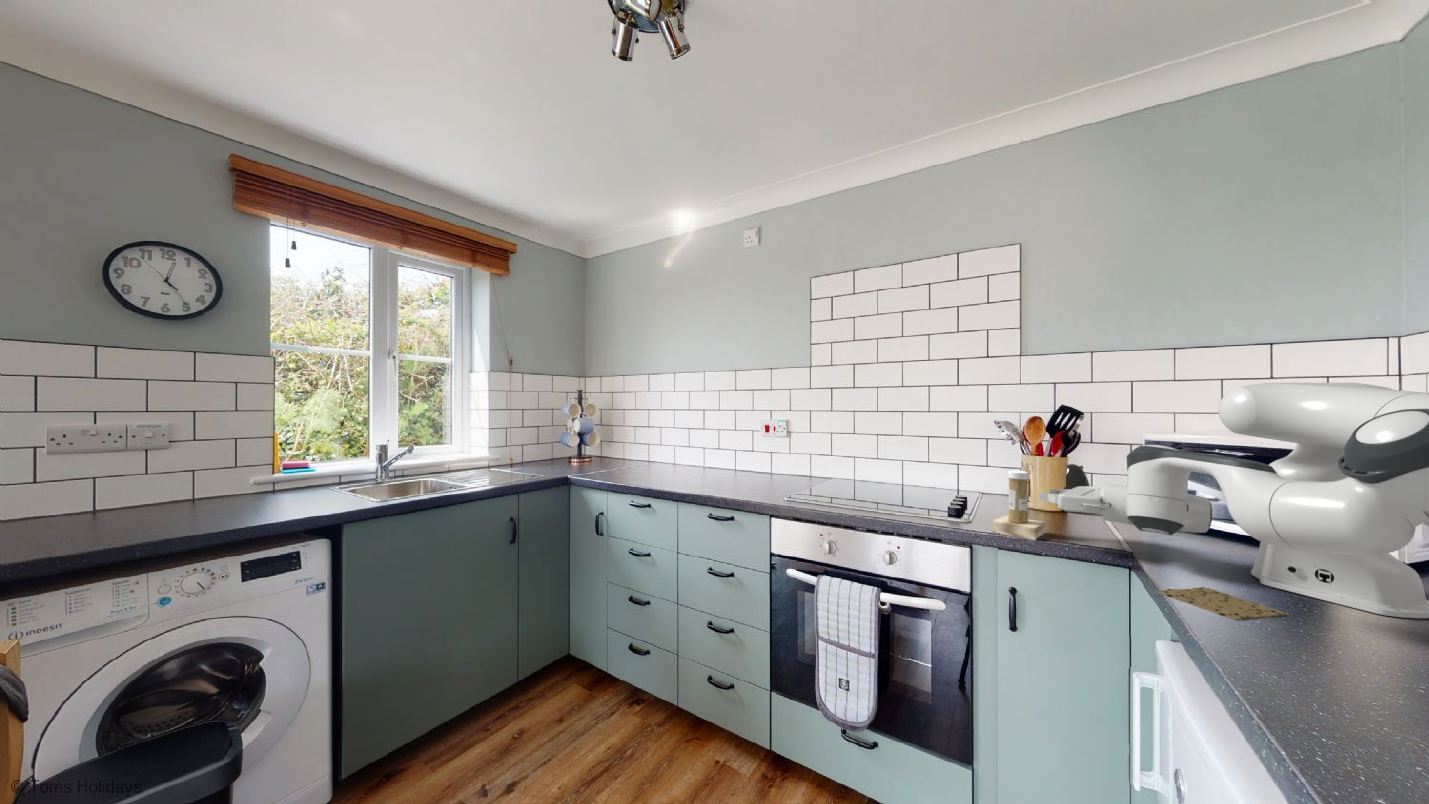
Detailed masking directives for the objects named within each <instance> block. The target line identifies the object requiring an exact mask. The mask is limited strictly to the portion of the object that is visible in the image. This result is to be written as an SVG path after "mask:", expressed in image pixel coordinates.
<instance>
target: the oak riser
mask: <svg viewBox="0 0 1429 804" xmlns="http://www.w3.org/2000/svg"><path fill="white" fill-rule="evenodd" d="M1008 518H1009V515H1005V514H1004V515H1002V516H1000V517H997V518H995V519H993V520H991V533H992V532H996V533H995V534H998V533H1000V534H999V535H1004V536H1008V537H1009V536H1010V537H1014V538H1015V537H1016V538H1020V539H1026V540H1030V541H1036V540H1038V539H1039V538H1040V537H1039V536H1041V535H1042V536H1044V535H1045V534H1046V531H1047V530H1046V529H1047V528H1046V526H1047V525H1046V521H1042V520H1041V521H1040V520H1035V519H1029V518H1027V520H1028V522H1027V523H1015V522H1011V521H1009V520H1008ZM1044 533H1045V534H1044ZM1043 534H1044V535H1043ZM1042 536H1041V537H1042ZM1038 537H1039V538H1038ZM1037 538H1038V539H1037Z"/></svg>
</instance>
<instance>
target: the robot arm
mask: <svg viewBox="0 0 1429 804" xmlns="http://www.w3.org/2000/svg"><path fill="white" fill-rule="evenodd" d="M1217 410H1218V412H1217V413H1218V416H1219V418H1220V419H1219V420H1221V421H1220V422H1222V424H1223V426H1224V428H1226V429H1228V431H1230V432H1231V433H1235V434H1238V435H1241V436H1242V435H1243V436H1249V437H1255V438H1262V439H1269V440H1274V441H1278V442H1279V441H1280V442H1285V443H1286V442H1287V443H1293V444H1296V445H1295V447H1294V449H1293V450H1292V451H1290V453H1288V455H1286V456H1285V457H1284V456H1283V457H1281V458H1279V459H1275V460H1274V461H1273V462H1271V463H1269V464H1266V463H1263V462H1261V461H1254V460H1250V459H1244V458H1238V457H1231V456H1224V455H1218V454H1213V453H1212V454H1211V453H1203V452H1197V451H1189V450H1188V451H1187V450H1181V449H1177V448H1174V447H1171V446H1166V445H1159V444H1145V445H1139V446H1137V447H1136V448H1134V449H1133V450H1131V451H1130V452H1129V453H1128V454H1126V471H1127V481H1126V485H1123V484H1113V483H1105V484H1104V486H1091V485H1090V486H1079V487H1075V488H1073V489H1071V490H1069V489H1054V488H1051V489H1050V491H1049V492H1041V493H1040V494H1039V500H1041V501H1045V502H1050V503H1053V504H1055V505H1056V504H1058V506H1057V508H1058V509H1059V510H1061V509H1062V510H1061V511H1063V510H1068V511H1076V512H1082V513H1086V514H1096V515H1100V516H1101V515H1102V518H1103V520H1104V521H1107V522H1112V523H1118V524H1119V523H1120V524H1125V525H1130V526H1131V525H1133V526H1134V527H1135V528H1136V529H1137V530H1139V531H1140V532H1141V531H1142V532H1148V533H1155V534H1156V533H1157V534H1162V535H1167V536H1173V535H1174V534H1176V533H1178V532H1181V533H1197V534H1198V533H1199V534H1200V533H1201V534H1202V533H1203V534H1205V533H1207V532H1208V531H1209V530H1210V528H1211V526H1212V522H1213V507H1212V503H1211V501H1210V500H1209V498H1207V497H1203V496H1200V495H1196V494H1191V493H1188V491H1189V490H1188V486H1189V477H1190V474H1191V473H1192V472H1193V473H1194V472H1195V473H1199V474H1204V475H1211V476H1212V477H1213V478H1214V479H1215V480H1216V482H1217V483H1218V485H1219V487H1220V489H1221V492H1222V494H1223V497H1224V500H1225V504H1226V508H1227V510H1228V512H1229V515H1230V516H1231V518H1232V519H1233V521H1234V522H1235V524H1236V525H1237V526H1238V527H1239V528H1240V529H1241V530H1242V531H1243V532H1245V533H1246V534H1247V535H1248V536H1250V537H1252V538H1254V539H1255V540H1257V541H1259V542H1260V544H1259V548H1258V552H1257V556H1256V559H1255V561H1254V564H1253V567H1252V569H1251V570H1250V574H1251V575H1252V577H1253V576H1254V577H1255V578H1257V579H1258V580H1259V583H1260V584H1262V585H1265V586H1268V587H1272V588H1276V589H1280V590H1282V591H1283V590H1284V591H1287V592H1291V593H1296V594H1298V595H1303V596H1306V597H1311V598H1315V599H1319V600H1323V601H1325V602H1326V601H1327V602H1330V603H1334V604H1337V605H1341V606H1347V607H1350V608H1354V609H1357V610H1361V611H1365V612H1370V613H1374V614H1378V615H1382V616H1389V617H1396V618H1404V619H1405V618H1407V619H1429V600H1428V599H1426V593H1425V589H1424V585H1423V584H1424V583H1423V582H1422V579H1421V577H1420V574H1419V573H1418V572H1417V571H1416V570H1415V569H1414V568H1412V567H1411V566H1409V565H1407V564H1406V563H1405V562H1403V561H1402V560H1401V559H1398V558H1397V557H1395V556H1394V555H1392V554H1391V553H1393V552H1397V551H1400V550H1402V549H1403V548H1405V547H1406V546H1407V545H1409V544H1410V542H1411V541H1412V540H1413V539H1414V536H1415V534H1416V527H1419V526H1420V525H1422V524H1423V525H1425V526H1426V527H1428V528H1429V392H1424V391H1423V392H1422V391H1421V392H1420V391H1411V390H1410V391H1409V390H1402V389H1401V390H1399V389H1393V388H1390V387H1388V386H1380V385H1374V384H1368V383H1361V382H1264V383H1255V384H1247V385H1242V386H1237V387H1233V388H1231V389H1230V390H1228V391H1227V392H1226V393H1225V394H1224V395H1223V397H1222V398H1221V399H1220V401H1219V404H1218V408H1217Z"/></svg>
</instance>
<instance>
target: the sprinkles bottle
mask: <svg viewBox="0 0 1429 804" xmlns="http://www.w3.org/2000/svg"><path fill="white" fill-rule="evenodd" d="M1007 473H1008V475H1007V476H1008V477H1007V478H1008V516H1009V518H1008V520H1009V521H1011V522H1015V523H1027V522H1028V520H1027V519H1028V510H1029V508H1028V507H1029V505H1028V504H1029V503H1028V502H1029V500H1028V496H1029V495H1028V494H1029V493H1028V492H1029V491H1028V481H1029V471H1024V470H1008V472H1007Z"/></svg>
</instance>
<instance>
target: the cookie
mask: <svg viewBox="0 0 1429 804" xmlns="http://www.w3.org/2000/svg"><path fill="white" fill-rule="evenodd" d="M1157 593H1158V594H1160V595H1164V596H1165V597H1168V598H1172V599H1174V600H1177V601H1179V602H1183V603H1186V604H1188V605H1191V606H1194V607H1197V608H1199V609H1202V610H1205V611H1208V612H1211V613H1213V614H1216V615H1218V616H1221V617H1224V618H1227V619H1230V620H1234V621H1246V620H1247V621H1248V620H1258V619H1267V618H1276V617H1277V618H1279V617H1287V616H1291V614H1290V613H1287V612H1285V611H1281V610H1279V609H1274V608H1272V607H1268V606H1265V605H1263V604H1260V603H1259V604H1258V603H1255V602H1252V601H1249V600H1247V599H1244V598H1241V597H1237V596H1235V595H1231V594H1228V593H1225V592H1222V591H1219V590H1217V589H1213V588H1210V587H1204V586H1201V587H1192V588H1183V589H1182V588H1179V589H1176V588H1174V589H1173V588H1171V589H1170V588H1166V589H1163V590H1159V591H1157Z"/></svg>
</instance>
